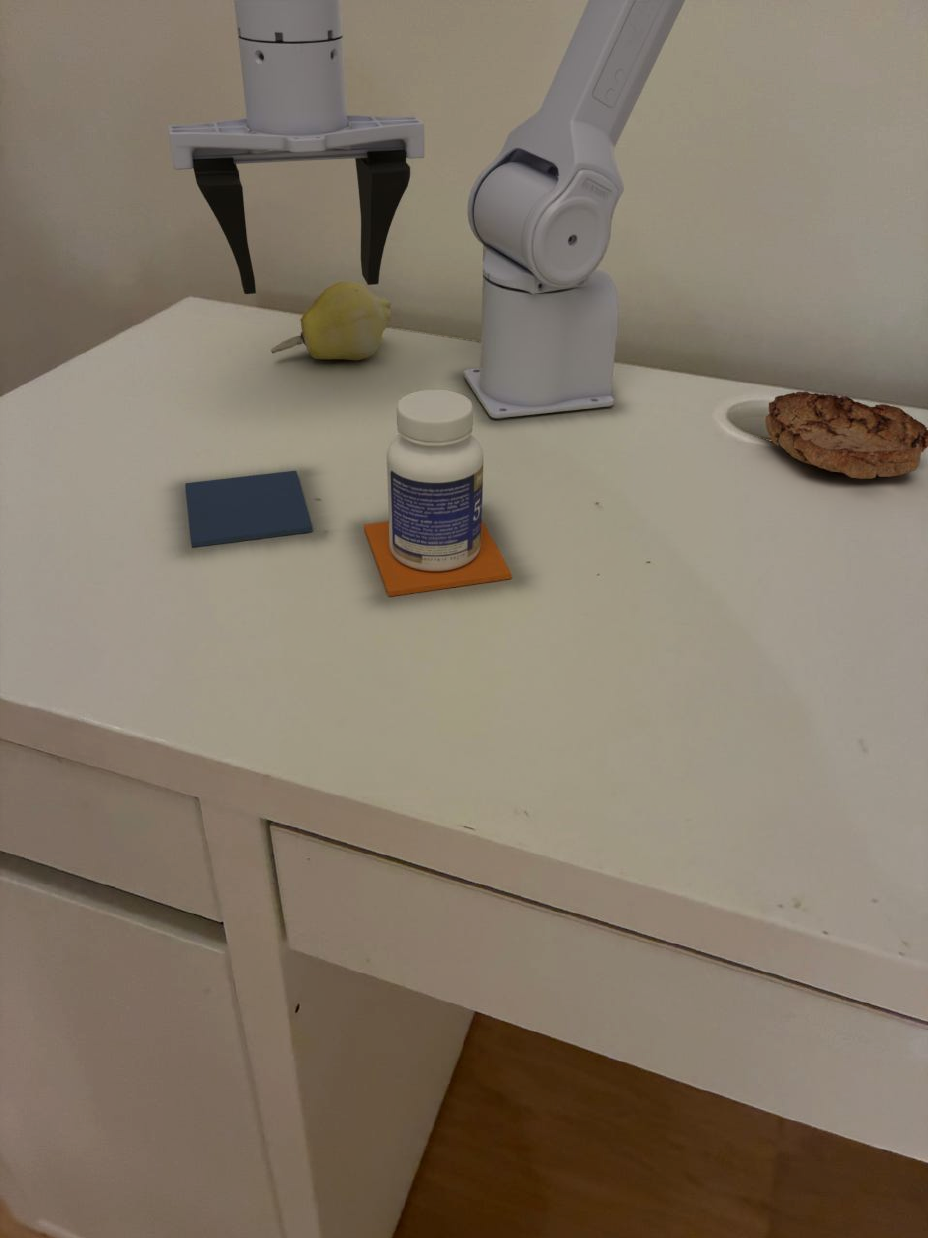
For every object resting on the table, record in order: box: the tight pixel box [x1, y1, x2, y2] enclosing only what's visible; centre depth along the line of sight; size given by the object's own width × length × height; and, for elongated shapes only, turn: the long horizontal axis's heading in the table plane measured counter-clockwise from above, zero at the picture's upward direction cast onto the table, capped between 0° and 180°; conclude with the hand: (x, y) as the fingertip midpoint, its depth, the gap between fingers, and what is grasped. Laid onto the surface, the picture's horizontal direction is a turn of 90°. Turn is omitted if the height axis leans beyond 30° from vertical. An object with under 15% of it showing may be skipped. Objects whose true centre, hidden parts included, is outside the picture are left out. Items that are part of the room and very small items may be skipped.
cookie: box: [765, 390, 928, 480], centre depth 67 cm, size 10×11×3 cm
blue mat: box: [184, 470, 313, 548], centre depth 61 cm, size 7×7×1 cm
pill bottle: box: [386, 389, 484, 571], centre depth 54 cm, size 5×5×9 cm
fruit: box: [270, 281, 392, 361], centre depth 78 cm, size 6×6×10 cm
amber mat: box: [363, 519, 512, 597], centre depth 57 cm, size 7×7×1 cm
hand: (310, 284), depth 63 cm, fingers open, 7 cm apart
